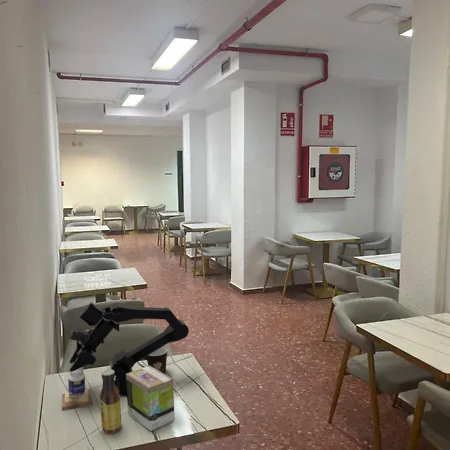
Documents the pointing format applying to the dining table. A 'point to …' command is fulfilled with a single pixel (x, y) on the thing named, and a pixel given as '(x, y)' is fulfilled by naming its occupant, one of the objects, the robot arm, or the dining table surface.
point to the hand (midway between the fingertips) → (70, 366)
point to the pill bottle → (76, 383)
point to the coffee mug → (157, 360)
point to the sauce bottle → (110, 403)
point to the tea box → (150, 397)
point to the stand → (76, 400)
